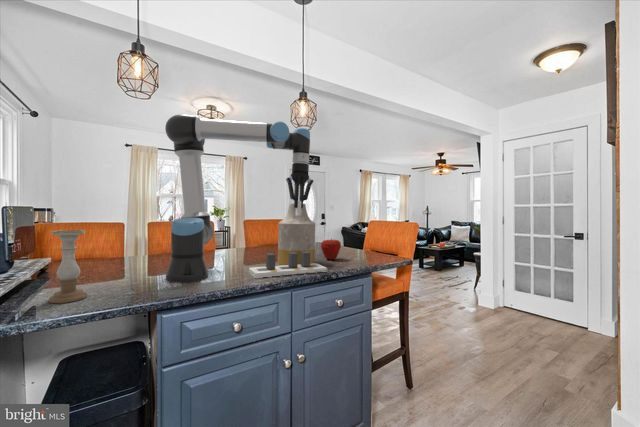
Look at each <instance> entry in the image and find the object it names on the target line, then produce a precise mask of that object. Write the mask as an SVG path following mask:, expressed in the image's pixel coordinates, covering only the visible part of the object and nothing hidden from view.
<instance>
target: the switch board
mask: <svg viewBox="0 0 640 427" xmlns="http://www.w3.org/2000/svg"><path fill="white" fill-rule="evenodd" d="M324 270H327V271H328V267H326V266H324V265H321V264H320V263H317V262H316V263H311V264H310V266H308V267H303V266H301V264H297V267H293V268H291V267H289V266H288V265H281V266H279V265H275V269H267V268H266V266H256V267H255V266H253V267H248V274H250V275H251V276H252V277H253V278H254V279H255V278H256V279H263V277H268V278H273V277H272V276H280V275H288V274H296V273H305V272H315V271H324ZM280 277H281V276H280Z"/></svg>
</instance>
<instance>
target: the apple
mask: <svg viewBox="0 0 640 427" xmlns="http://www.w3.org/2000/svg"><path fill="white" fill-rule="evenodd" d="M341 247H342V243H341V242H340V240H339V239H333V238H330V239H325V240H322V242H321V243H320V248H321V251H322V253H323V256H324V258H325V259H327V260H328V259H334V260H337V257H338V254H339V252H340V250H341Z"/></svg>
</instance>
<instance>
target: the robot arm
mask: <svg viewBox="0 0 640 427" xmlns="http://www.w3.org/2000/svg"><path fill="white" fill-rule="evenodd" d="M165 134H166V136H167V138H168V139H169V140H170V141H171V142H173V150H174V154H175V155H176V156H177V157H178V160H179V170H180V180H181V181H180V182H181V190H182V201H183V202H182V204H183V210H184V213H183V214H182V215H181V216H180V217H179V218H176V219H173V220H172V222H171V227H170V234H171V236H170V237H171V239H170V240H171V241H170V243H171V244H170V261H169V262H170V263H169V266H168V268H167V271H166V273H165V281H166V282H169V283H180V284H181V283H193V282H194V283H195V282H200V281H203V280H205V279H207V278H209V270H208V268H207V264H206V261H205V257H204V256H205V254H204V253H205V252H204V251H205V249H204V248H205V247H204V246H205V245H207V244H208V243H210V241H211V240H212V238H213V236H214V226H213V225H212V223H211V215H210V213H208V212H207V210H206V200H205V191H204V190H205V189H204V178H203V169H202V158H201V157H202V156H203V155H204V153H205V150H204V145H205V144H206V143H205V142H206V140H217V141H218V140H220V141H222V140H223V141H240V142H257V143H266V147H267V148H268V149H273V150H276V149H277V150H278V149H279V150H289V151H292V164H291V174H290V176H289V177H286V178H285V181H286V183H287V186H288V192H289V196H290V200H292V201H293V202H294V208H296V215H298V216H301V208H303V204H304V202H305V201H307V200H308V198H309V194H310V191H311V186H312V185H313V184H314V179H312V178H310V175H309V171H310V170H309V169H310V167H309V166H310V165H309V163H310V149H311V148H310V147H311V132H310V130H309V129H307V128H304V127H303V128H302V127H300V128H299V127H297V128H295V129H293V132H290V128H289V126H288V125H287V124H286V123H285V122H284V121H279V120H278V121H275V122H273V123H270V122H269V123H268V122H267V123H266V122H254V121H253V122H252V121H240V120H239V121H237V120H227V119H226V120H225V119H212V118H211V119H210V118H202V117H201V116H200V115H196V114H195V115H193V114H175V115H173V116H171V117H170V118H168V119H167V121H166V124H165ZM292 181H293V182H292ZM293 183H294V186H293ZM306 183H307V184H306ZM305 185H306V186H305Z"/></svg>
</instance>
